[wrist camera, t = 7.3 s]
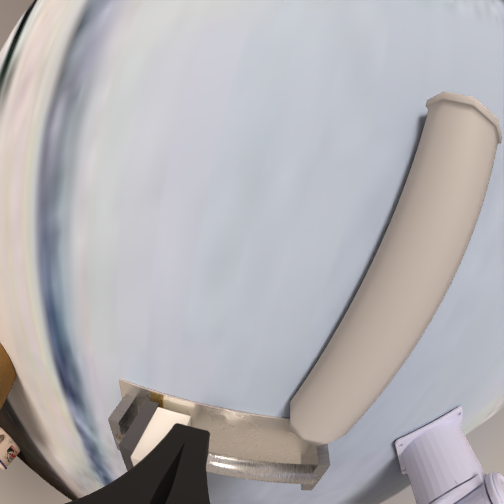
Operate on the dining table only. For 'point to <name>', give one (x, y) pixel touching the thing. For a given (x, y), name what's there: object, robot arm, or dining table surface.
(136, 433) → the dark gray slab
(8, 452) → the teacup with lid
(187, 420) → the sleeve
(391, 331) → the tube
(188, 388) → the dining table surface
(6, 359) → the plant pot
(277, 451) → the rod rig
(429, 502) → the robot arm
